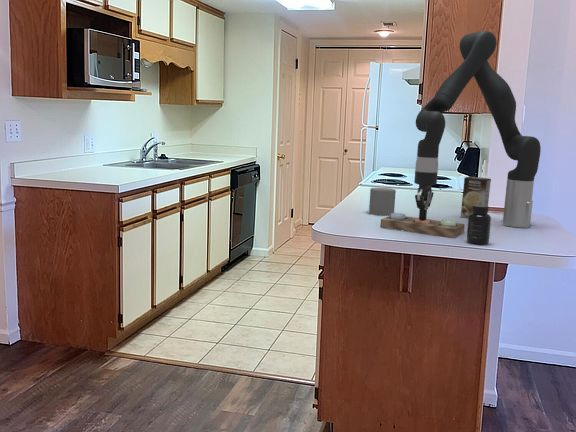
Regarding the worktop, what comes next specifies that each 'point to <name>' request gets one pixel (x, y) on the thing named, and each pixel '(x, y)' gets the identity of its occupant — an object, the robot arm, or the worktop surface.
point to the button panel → (423, 227)
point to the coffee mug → (382, 201)
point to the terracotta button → (422, 221)
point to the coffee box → (474, 194)
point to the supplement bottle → (479, 225)
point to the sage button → (448, 223)
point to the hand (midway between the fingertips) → (422, 220)
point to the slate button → (398, 216)
